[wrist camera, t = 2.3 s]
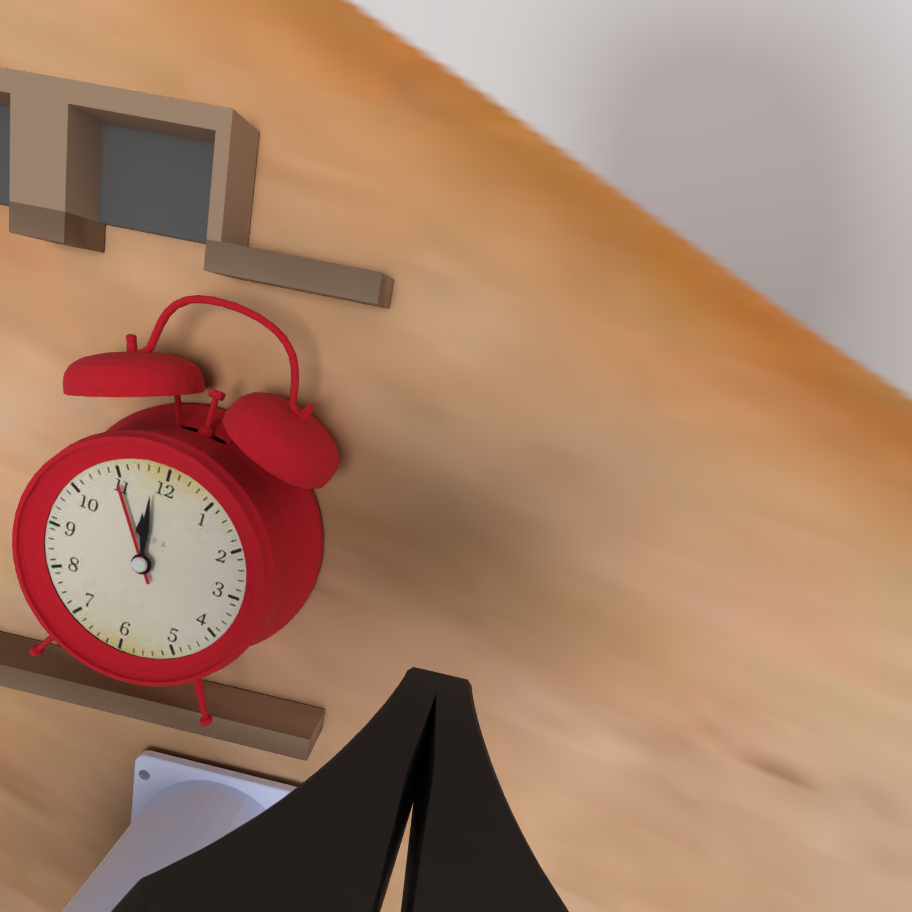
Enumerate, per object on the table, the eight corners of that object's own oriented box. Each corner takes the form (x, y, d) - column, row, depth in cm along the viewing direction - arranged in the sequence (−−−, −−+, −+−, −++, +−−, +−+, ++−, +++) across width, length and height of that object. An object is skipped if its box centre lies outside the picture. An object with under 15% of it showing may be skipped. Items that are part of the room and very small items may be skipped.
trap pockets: (247, 251, 19) (220, 241, 17) (-83, 188, 20) (-140, 171, 18) (259, 132, 18) (232, 108, 16) (-86, 69, 19) (-147, 41, 17)
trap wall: (322, 729, 23) (299, 774, 20) (-121, 622, 24) (-192, 653, 21) (393, 280, 19) (376, 269, 16) (-143, 176, 20) (-234, 152, 17)
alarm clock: (-23, 658, 20) (-64, 254, 13) (106, 561, 25) (123, 246, 19) (234, 763, 19) (321, 407, 13) (306, 641, 25) (392, 352, 19)
